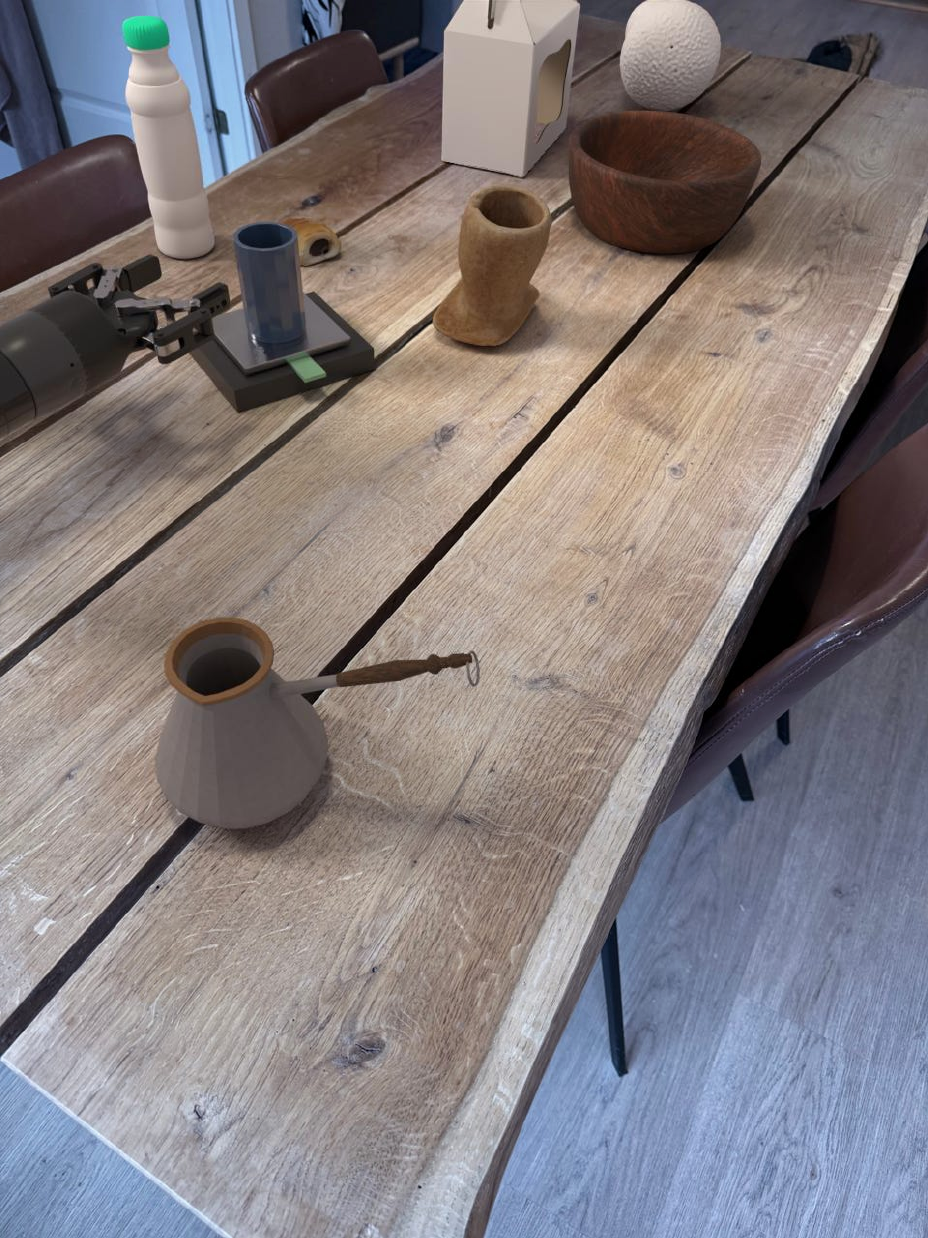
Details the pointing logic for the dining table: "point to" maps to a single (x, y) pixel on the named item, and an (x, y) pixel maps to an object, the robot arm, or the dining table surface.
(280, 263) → the cup
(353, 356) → the scale
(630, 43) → the decorative orb
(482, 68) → the gable box
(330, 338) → the scale pan
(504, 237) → the stone cup
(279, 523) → the dining table surface
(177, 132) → the water bottle
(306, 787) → the coffee pot
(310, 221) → the pastry
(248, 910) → the dining table surface
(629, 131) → the wooden bowl
